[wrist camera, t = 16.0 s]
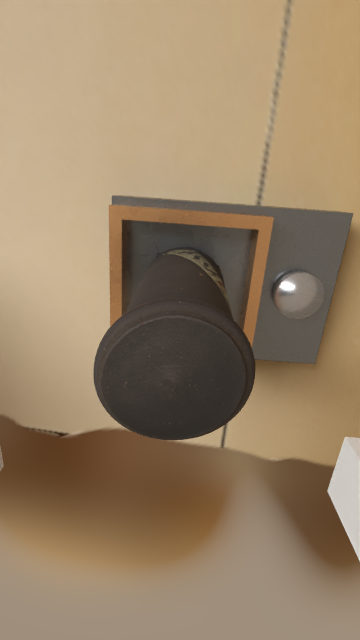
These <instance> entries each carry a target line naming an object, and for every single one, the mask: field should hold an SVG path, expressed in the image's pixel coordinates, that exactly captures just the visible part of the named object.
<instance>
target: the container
mask: <svg viewBox="0 0 360 640" xmlns="http://www.w3.org/2000/svg"><path fill="white" fill-rule="evenodd" d="M254 378H255V359H254V354H253V350H252V347H251V344H250V342H249V340H248V338H247V336H246V335H245V333H244V332H243V330H242V329H241V328H240V326H239V325H238V324H237V323H236V322H235V321H234V320H233V316H232V312H231V308H230V304H229V300H228V296H227V293H226V289H225V284H224V280H223V277H222V273H221V271H220V268H219V267H218V266H217V264H216V263H215V262H214V261H213V260H212V259H211V258H210V257H209V256H208V255H206V254H204V253H203V252H201V251H198V250H196V249H193V248H186V247H180V248H173V249H169V250H166V251H164V252H162V253H161V254H159V255H158V256H157V257H156V258H155V259H154V260H153V261H152V262H151V263H150V265H149V266H148V268H147V270H146V272H145V274H144V276H143V278H142V280H141V282H140V284H139V286H138V288H137V290H136V292H135V294H134V296H133V298H132V300H131V302H130V304H129V306H128V309H127V311H126V312H125V314H123V315H122V316H121V317H120V318H119V319H117V320H116V321H115V322H114V323H113V325H112V326H111V327H110V328H109V329H108V331H107V332H106V334H105V335H104V337H103V339H102V340H101V342H100V345H99V347H98V350H97V354H96V357H95V363H94V384H95V388H96V391H97V395H98V397H99V400H100V401H101V403H102V405H103V407H104V408H105V409H106V411H107V412H108V413H109V414H110V415H111V416H112V417H113V418H114V419H115V420H116V421H117V422H118V423H119V424H121V425H122V426H124V427H125V428H127V429H129V430H131V431H133V432H135V433H138V434H140V435H143V436H147V437H150V438H156V439H162V440H184V439H190V438H195V437H199V436H203V435H205V434H208V433H211V432H213V431H215V430H217V429H218V428H220V427H222V426H223V425H225V424H226V423H228V422H229V421H230V420H231V419H232V418H234V417H235V416H236V415H237V414H238V413H239V411H240V410H241V409H242V408H243V406H244V405H245V403H246V401H247V400H248V398H249V396H250V393H251V391H252V388H253V384H254Z"/></svg>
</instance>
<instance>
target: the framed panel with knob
mask: <svg viewBox="0 0 360 640" xmlns="http://www.w3.org/2000/svg"><path fill="white" fill-rule="evenodd" d="M352 217H353V213H346V212H338V211H325V210H311V209H298V208H284V207H271V206H257V205H243V204H230V203H216V202H202V201H189V200H175V199H162V198H148V197H134V196H121V195H118V196H112V205H109V252H110V326H112V325H113V323H114V322H115V321H116V320H117V319H119V318H120V317H121V316H122V315H123V314H125V312H126V311H127V309H128V306H129V304H130V302H131V300H132V298H133V296H134V294H135V292H136V290H137V288H138V286H139V284H140V282H141V280H142V278H143V276H144V274H145V272H146V270H147V268H148V266H149V265H150V263H151V262H152V261H153V260H154V259H155V258H156V257H157V256H158V255H159V254H161V253H162V252H164V251H166V250H169V249H173V248H180V247H186V248H193V249H196V250H198V251H201V252H203V253H204V254H206V255H208V256H209V257H210V258H211V259H212V260H213V261H214V262H215V263H216V264H217V266H218V267H219V268H220V271H221V273H222V277H223V280H224V284H225V289H226V293H227V296H228V300H229V304H230V308H231V312H232V316H233V320H234V321H235V322H236V323H237V324H238V325H239V326H240V328H241V329H242V330H243V332H244V333H245V335H246V336H247V338H248V340H249V342H250V344H251V347H252V350H253V354H254V359H258V360H270V361H283V362H296V363H309V364H315V361H316V358H317V354H318V350H319V346H320V342H321V338H322V334H323V330H324V326H325V322H326V318H327V314H328V311H329V307H330V303H331V299H332V295H333V291H334V287H335V283H336V279H337V275H338V271H339V267H340V264H341V260H342V256H343V252H344V248H345V244H346V240H347V236H348V232H349V228H350V224H351V220H352Z"/></svg>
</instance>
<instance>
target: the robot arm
mask: <svg viewBox="0 0 360 640" xmlns="http://www.w3.org/2000/svg"><path fill="white" fill-rule="evenodd" d="M3 466H4V465H3V459H2V453H1V448H0V471H1V469H2V468H3ZM328 493H329V496H330V498H331V500H332V502H333V504H334V506H335V508H336V511H337V513H338V515H339V517H340V519H341V522H342V524H343V526H344V528H345V530H346V533H347V535H348V537H349V539H350V541H351V543H352V545H353V548H354V550H355V552H356V554H357V556H358V558H359V561H360V438H354V437H345V439H344V442H343V445H342V448H341V451H340V454H339V457H338V460H337V463H336V466H335V469H334V472H333V475H332V478H331V482H330V485H329V488H328Z"/></svg>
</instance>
